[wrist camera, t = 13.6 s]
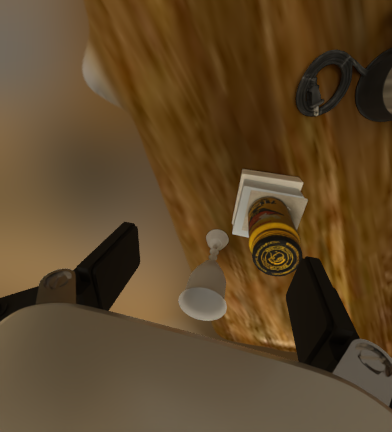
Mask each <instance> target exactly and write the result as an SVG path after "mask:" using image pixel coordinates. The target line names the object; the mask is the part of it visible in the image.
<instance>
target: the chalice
mask: <svg viewBox="0 0 392 432" xmlns="http://www.w3.org/2000/svg"><path fill="white" fill-rule="evenodd" d="M206 241H207V243H208V246H209V247H210V248H211V250H210V253H211V255H210V256H209V259H210V260H207V261H205V262H204V263H202V264H201V265H199V266H198V267H197V268H196V269H195V270H194V271H193V272H192V274H191V275H190V278H189V281H188V283H187V287H186V289H185V291H183V292H182V294H181V295H180V297H179V304H180V307H181V309H182V310H183V311H184V312H185V313H186V314H188V315H189V316H191V317H193V318H195V319H199V320H206V321H208V320H209V321H211V320H216V319H218V318H220V317H222V316H223V315H224V314H225V313H226V309H227V306H226V302H225V300H224V296H225V288H226V280H225V277H224V274H223V271H222V269H221V268H220V266H219V264H218V263H217V262H216V261H215V260H217V256H216V255H218V253H219V251H218V250H222V249H223V248H224V247H225V246H226V245H227V244H228V241H229V239H228V236H227V234H226V233H225V232H224V231H221V230H217V229H216V230H212V231H210V232H209V233H208V234H207V236H206Z"/></svg>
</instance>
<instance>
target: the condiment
mask: <svg viewBox="0 0 392 432" xmlns="http://www.w3.org/2000/svg"><path fill="white" fill-rule="evenodd" d="M307 202H308V199H304V198H298V197H291V196H285V195H280V194H273V193H267V192H260V191H254V190H251V192H250V196H249V201H248V205H247V209H246V214H245V218H244V223H243V227H242V230H244V231H248V234H249V238H248V242H249V248H250V250H251V252H252V258H253V262H254V264H255V265H256V266H257V268H258V269H259V270H261V271H262V272H264V273H265V274H268V275H272V276H285V275H287V274H289V273H291V272H293V271H294V270H296V269H297V268H298V265H299V263H300V261H301V259H302V251H301V248H300V237H299V234H298V232H297V228H298V225H299V222H300V220H301V216H302V215H303V212H304V209H305V206H306V204H307ZM287 207H288V208H287ZM289 209H290V210H289Z"/></svg>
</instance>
